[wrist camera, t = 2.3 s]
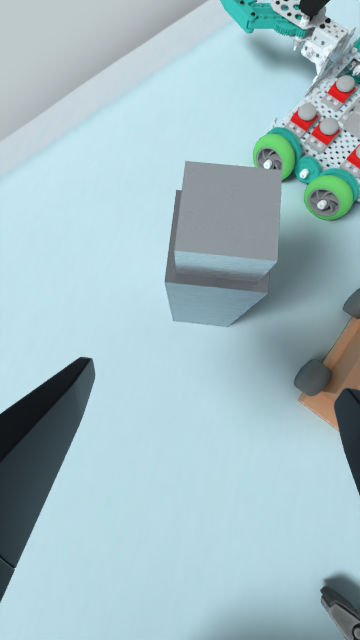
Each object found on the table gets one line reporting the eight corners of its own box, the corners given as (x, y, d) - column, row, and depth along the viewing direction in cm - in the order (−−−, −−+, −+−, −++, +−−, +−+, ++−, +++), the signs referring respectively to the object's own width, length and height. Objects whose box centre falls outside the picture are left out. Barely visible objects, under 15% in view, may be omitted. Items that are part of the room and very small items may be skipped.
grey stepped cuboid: (227, 326, 23) (290, 274, 10) (172, 320, 23) (160, 261, 10) (232, 274, 24) (294, 160, 10) (179, 269, 24) (175, 149, 11)
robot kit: (267, 7, 30) (305, -153, 21) (453, 127, 27) (596, 1, 17) (160, 107, 27) (148, -23, 18) (349, 250, 24) (451, 181, 15)
